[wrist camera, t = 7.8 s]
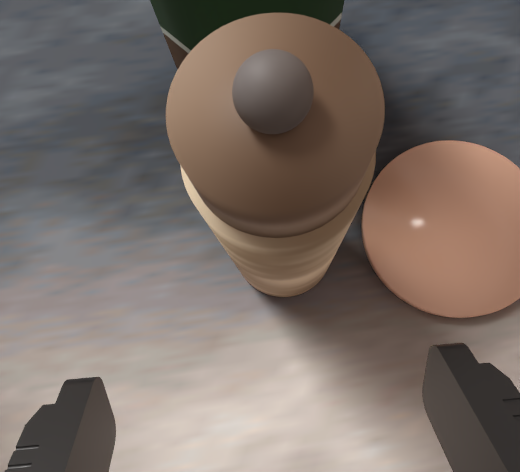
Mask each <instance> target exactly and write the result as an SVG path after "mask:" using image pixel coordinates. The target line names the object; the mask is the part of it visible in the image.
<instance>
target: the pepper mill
mask: <svg viewBox="0 0 520 472" xmlns="http://www.w3.org/2000/svg"><path fill="white" fill-rule="evenodd" d="M384 119H385V103H384V95H383V90H382V86H381V82H380V79H379V77H378V74H377V72H376V70H375V68H374V66H373V64H372V63H371V61H370V59H369V58H368V56H367V55H366V54H365V53H364V51H363V50H362V49H361V48H360V46H358V45H357V44H356V43H355V42H354V41H353V40H352V39H351V38H350V37H349V36H347V35H346V34H344V33H343V32H342V31H340V30H339V29H337V28H335V27H333V26H331V25H330V24H328V23H325V22H323V21H320V20H318V19H315V18H312V17H308V16H304V15H299V14H292V13H264V14H257V15H252V16H248V17H244V18H241V19H238V20H235V21H233V22H231V23H228V24H226V25H224V26H222V27H220V28H219V29H217V30H215V31H214V32H212V33H211V34H209V35H208V36H207V37H205V38H204V39H203V40H202V41H200V42H199V43H198V44H197V45H196V46H195V47H194V48H193V49H192V50H191V51H190V53H189V54H188V55H187V56H186V58H185V59H184V60H183V62H182V63H181V65H180V67H179V68H178V70H177V72H176V74H175V76H174V79H173V81H172V83H171V86H170V90H169V94H168V98H167V105H166V125H167V132H168V137H169V140H170V144H171V147H172V149H173V151H174V154H175V156H176V158H177V160H178V162H179V163H180V166H181V172H182V178H183V181H184V184H185V188H186V190H187V192H188V194H189V196H190V198H191V200H192V202H193V203H194V205H195V206H196V208H197V209H198V211H199V212H200V214H201V215H202V217H203V218H204V220H205V221H206V222H207V224H208V225H209V227H210V228H211V230H212V231H213V233H214V234H215V236H216V237H217V238H218V240H219V241H220V243H221V244H222V246H223V247H224V249H225V250H226V252H227V253H228V254H229V256H230V257H231V259H232V260H233V262H234V263H235V265H236V266H237V268H238V269H239V270H240V272H241V273H242V275H243V276H244V278H245V279H246V280H247V281H248V282H249V283H250V284H251V285H252V286H253V287H254V288H256V289H257V290H259V291H261V292H263V293H265V294H268V295H271V296H276V297H291V296H296V295H299V294H302V293H304V292H306V291H308V290H310V289H311V288H313V287H314V286H315V285H316V284H317V283H318V282H319V281H320V280H321V279H322V278H323V276H324V275H325V273H326V271H327V269H328V267H329V266H330V264H331V262H332V260H333V258H334V256H335V254H336V252H337V250H338V248H339V246H340V244H341V242H342V240H343V238H344V236H345V234H346V232H347V230H348V228H349V226H350V225H351V223H352V221H353V219H354V217H355V215H356V213H357V211H358V209H359V207H360V205H361V203H362V201H363V199H364V197H365V195H366V193H367V191H368V189H369V187H370V184H371V181H372V178H373V175H374V169H375V163H376V148H377V146H378V144H379V140H380V137H381V134H382V130H383V125H384Z"/></svg>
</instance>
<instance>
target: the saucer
mask: <svg viewBox="0 0 520 472" xmlns="http://www.w3.org/2000/svg"><path fill="white" fill-rule="evenodd" d="M361 232H362V240H363V244H364V249H365V252H366V254H367V257H368V260H369V262H370V264H371V266H372V268H373V269H374V271H375V273H376V274H377V275H378V277H379V278H380V280H381V281H382V282H383V283H384V284H385V285H386V287H387V288H388V289H389V290H390V291H392V292H393V293H394V294H395V295H396V296H397V297H398V298H400V299H401V300H403V301H404V302H406V303H407V304H409V305H411V306H413V307H415V308H417V309H419V310H421V311H424V312H427V313H430V314H433V315H438V316H442V317H452V318H466V317H475V316H481V315H487V314H490V313H493V312H496V311H499V310H501V309H503V308H505V307H507V306H509V305H511V304H512V303H514V302H515V301H517V300H518V299H519V298H520V169H519V168H518V167H517V166H516V165H515V164H514V163H512V162H511V161H510V160H508V159H507V158H506V157H504V156H502V155H501V154H499V153H497V152H495V151H493V150H491V149H488V148H486V147H484V146H480V145H477V144H474V143H469V142H464V141H452V140H447V141H435V142H430V143H425V144H422V145H419V146H416V147H414V148H411V149H409V150H407V151H405V152H404V153H402V154H400V155H399V156H397V157H396V158H395V159H393V160H392V161H391V162H390V163H389V164H387V166H386V167H385V168H384V169H383V170H382V171H381V172H380V174H379V175H378V176H377V178H376V179H375V181H374V183H373V184H372V186H371V188H370V190H369V192H368V194H367V197H366V200H365V203H364V206H363V211H362V218H361Z"/></svg>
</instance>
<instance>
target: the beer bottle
mask: <svg viewBox="0 0 520 472" xmlns="http://www.w3.org/2000/svg"><path fill="white" fill-rule="evenodd" d="M150 1H151V4H152V6H153V9H154V11H155V14H156V16H157V19H158V21H159V24H160V27H161V29H162V32H163V34H164V37H165V39H166V42H167V44H168V47H169V49H170V52H171V54H172V57H173V59H174V62H175V65H176V67H177V69H178V68H179V67H180V65H181V63H182V62H183V60H184V59H185V58H186V56H187V55H188V54H189V53H190V51H191V50H192V49H193V48H194V47H195V46H196V45H197V44H198V43H199V42H200V41H202V40H203V39H204V38H205V37H207V36H208V35H209V34H211V33H212V32H214V31H215V30H217V29H219V28H220V27H222V26H224V25H226V24H228V23H231V22H233V21H235V20H238V19H241V18H244V17H248V16H252V15H257V14H264V13H292V14H299V15H304V16H308V17H312V18H315V19H318V20H320V21H323V22H325V23H328V24H330V25H331V26H333V27H335V28H337V29H339V27H340V21H341V15H342V10H343V4H344V0H150Z"/></svg>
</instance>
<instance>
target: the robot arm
mask: <svg viewBox="0 0 520 472" xmlns="http://www.w3.org/2000/svg"><path fill="white" fill-rule="evenodd" d="M423 402H424V406H425V410H426V413H427V415H428V418H429V420H430V422H431V424H432V426H433V429H434V431H435V433H436V435H437V437H438V439H439V442H440V444H441V446H442V448H443V450H444V453H445V455H446V457H447V459H448V461H449V464H450V466H451V468H452V470H453V472H520V393H519V391H518V390H517V388H516V387H515V386H514V384H513V383H512V381H511V380H510V378H508V377H507V376H506V375H504V374H503V373H502V372H501V371H499V370H498V369H497V368H496V367H494V366H493V365H492V364H490V363H482V364H479V363H478V362H477V360H476V359H475V357H474V356H473V354H472V352H471V351H470V349H469V348H468V347H467V346H466V345H465V344H464V343H455V344H444V345H433V346H431V347H430V349H429V353H428V359H427V365H426V371H425V377H424V383H423ZM115 437H116V426H115V419H114V415H113V412H112V409H111V406H110V403H109V400H108V397H107V394H106V390H105V387H104V384H103V381H102V379H101V378H100V377H92V378H81V379H70V380H66V381H65V382H64V384H63V386H62V388H61V391H60V393H59V396H58V398H57V401H56V403H55V404H49V405H43V406H42V407H41V408H40V409H39V410H38V411H37V412H36V414H35V415H34V416H33V417H32V418H31V419H30V420H29V421H28V423H27V424H26V425H25V427H24V430H23V432H22V434H21V436H20V439H19V441H18V443H17V445H16V451H14V452H13V454H12V457H11V459H10V461H9V463H8V469H7V470H5V472H108V471H109V467H110V462H111V458H112V454H113V450H114V445H115Z"/></svg>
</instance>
